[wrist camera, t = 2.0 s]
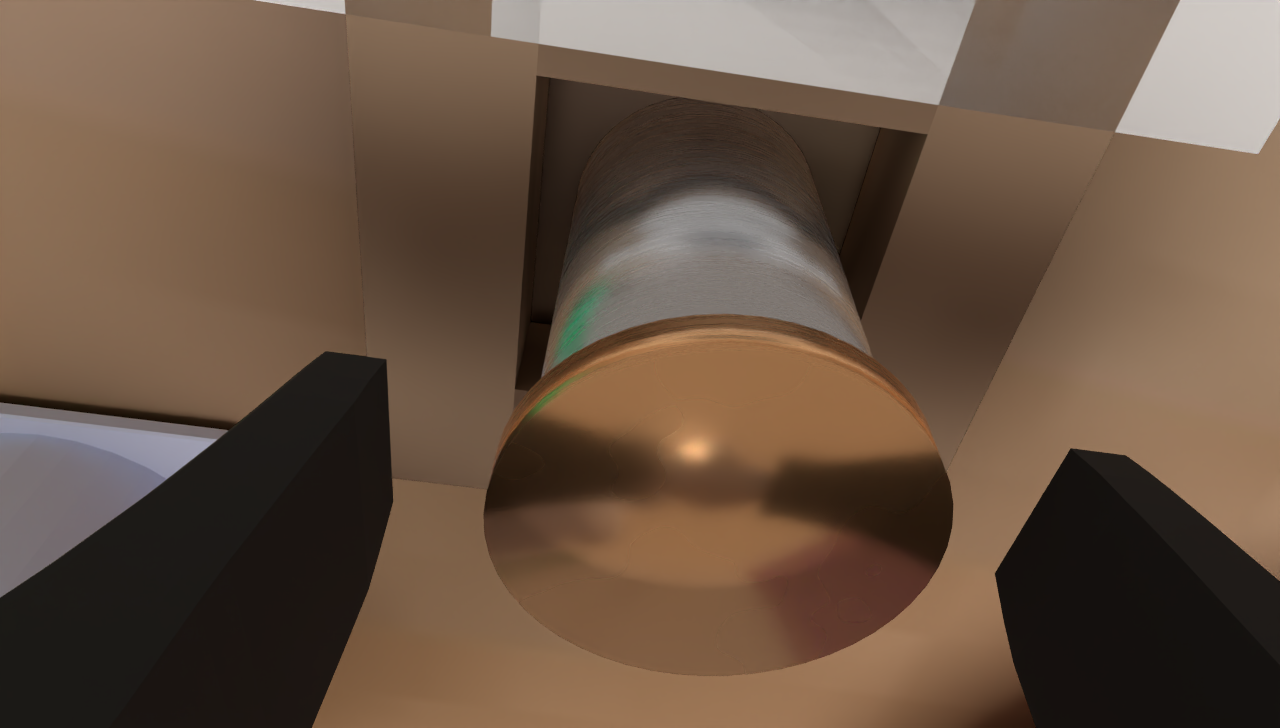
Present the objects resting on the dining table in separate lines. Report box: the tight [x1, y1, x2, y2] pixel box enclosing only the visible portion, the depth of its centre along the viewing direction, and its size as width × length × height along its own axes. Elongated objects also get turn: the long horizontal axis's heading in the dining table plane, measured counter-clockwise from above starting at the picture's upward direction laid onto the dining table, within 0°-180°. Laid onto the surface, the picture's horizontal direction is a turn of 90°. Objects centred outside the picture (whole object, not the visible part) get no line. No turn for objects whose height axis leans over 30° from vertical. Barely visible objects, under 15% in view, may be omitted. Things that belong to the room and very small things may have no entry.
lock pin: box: [484, 97, 953, 676], centre depth 11 cm, size 5×5×7 cm
